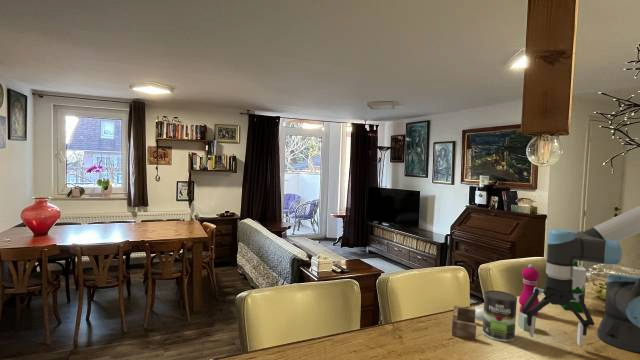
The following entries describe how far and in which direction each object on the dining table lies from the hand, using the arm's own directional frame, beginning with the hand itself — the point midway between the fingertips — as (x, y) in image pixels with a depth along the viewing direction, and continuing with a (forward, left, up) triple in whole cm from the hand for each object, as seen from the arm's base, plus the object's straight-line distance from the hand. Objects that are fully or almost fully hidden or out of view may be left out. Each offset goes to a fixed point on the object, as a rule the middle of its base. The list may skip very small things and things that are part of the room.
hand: (554, 339), depth 121 cm
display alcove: (+28, 0, -2) cm, 28 cm away
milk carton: (-14, -44, -2) cm, 46 cm away
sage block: (+7, -11, -2) cm, 13 cm away
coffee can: (+17, 0, -2) cm, 17 cm away
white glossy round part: (+21, -14, -2) cm, 25 cm away
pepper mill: (+4, -29, -2) cm, 29 cm away
